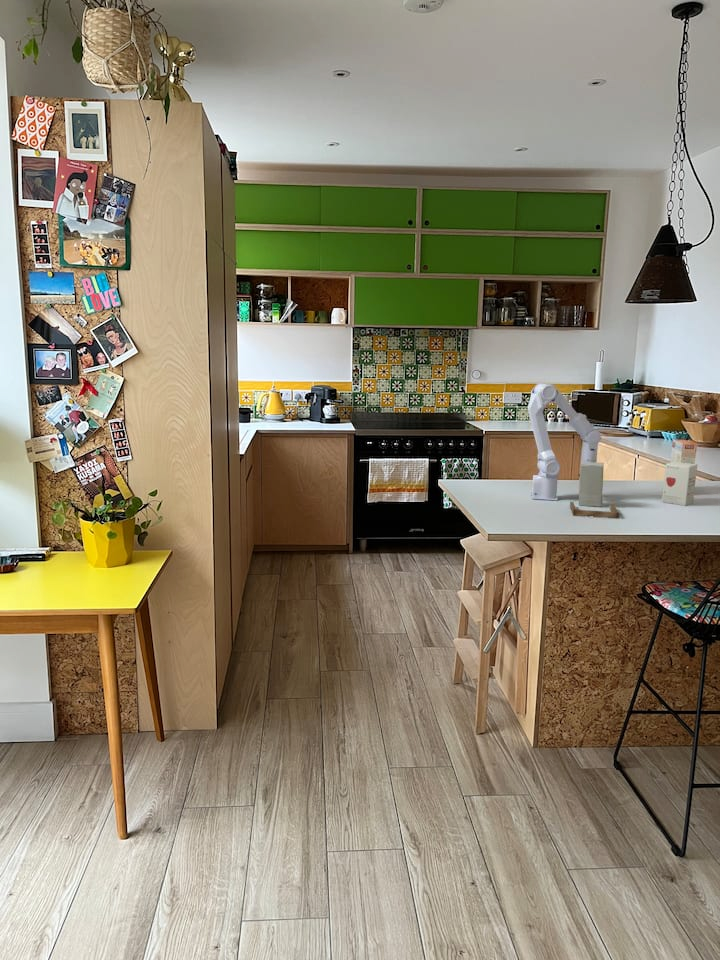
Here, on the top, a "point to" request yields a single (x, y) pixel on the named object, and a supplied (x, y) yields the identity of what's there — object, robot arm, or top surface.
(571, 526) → the top surface
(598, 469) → the skincare box
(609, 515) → the walnut bay
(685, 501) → the supplement box
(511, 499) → the top surface
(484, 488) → the top surface
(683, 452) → the cracker box
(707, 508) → the top surface
